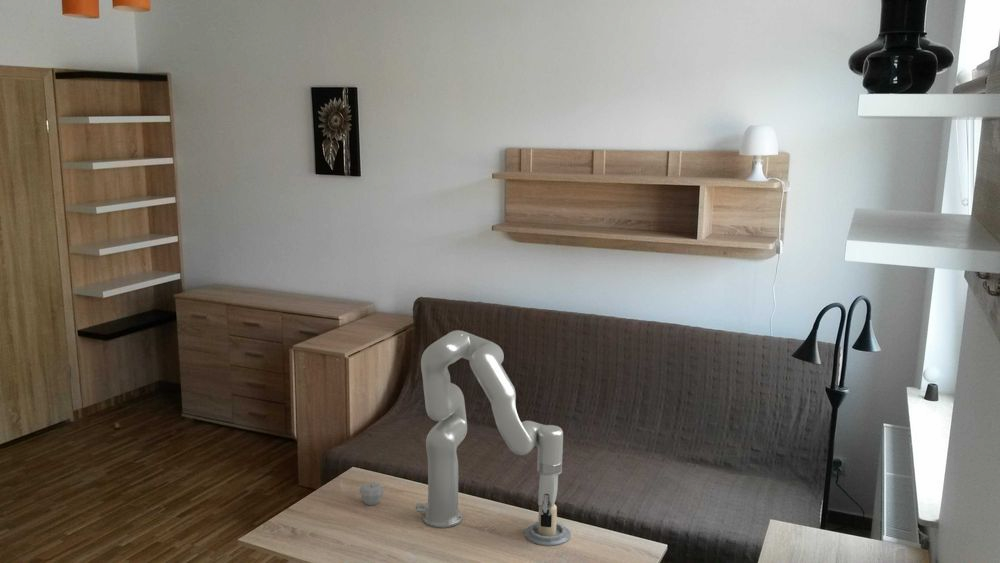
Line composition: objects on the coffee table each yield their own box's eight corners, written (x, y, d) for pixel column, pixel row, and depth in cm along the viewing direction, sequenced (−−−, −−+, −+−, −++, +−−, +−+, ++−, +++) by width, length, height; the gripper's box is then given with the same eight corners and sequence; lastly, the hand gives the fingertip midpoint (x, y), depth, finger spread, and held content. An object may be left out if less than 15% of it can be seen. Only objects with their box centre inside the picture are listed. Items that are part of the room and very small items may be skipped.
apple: (381, 508, 270) (381, 489, 269) (357, 508, 270) (357, 489, 269) (385, 498, 278) (385, 479, 277) (361, 497, 278) (361, 479, 277)
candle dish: (521, 543, 249) (521, 537, 249) (528, 522, 263) (528, 516, 262) (567, 548, 246) (568, 542, 246) (572, 526, 260) (572, 521, 260)
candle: (554, 538, 251) (555, 507, 250) (536, 536, 252) (537, 505, 251) (557, 529, 257) (558, 499, 255) (539, 527, 258) (540, 497, 256)
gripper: (541, 454, 260) (540, 505, 263) (533, 476, 243) (531, 531, 246) (565, 456, 258) (563, 508, 261) (558, 479, 242) (556, 533, 245)
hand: (548, 519), depth 254 cm, fingers open, 9 cm apart
